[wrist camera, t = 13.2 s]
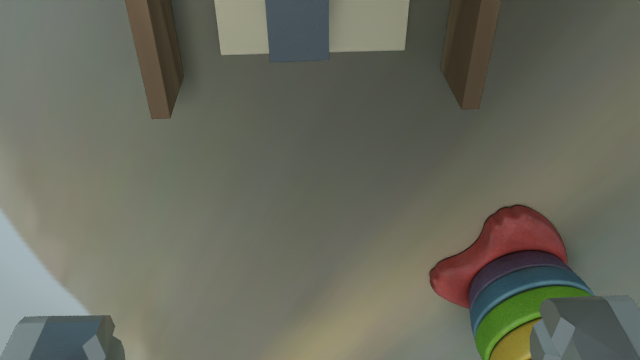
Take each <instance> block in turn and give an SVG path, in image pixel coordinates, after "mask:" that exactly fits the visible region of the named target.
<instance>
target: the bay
mask: <svg viewBox="0 0 640 360" xmlns="http://www.w3.org/2000/svg"><path fill="white" fill-rule="evenodd" d="M501 1H502V0H451V2H450V9H449V15H448V22H447V29H446V36H445V42H444V49H443V56H442V63H441V71H442V73H443V75H444V76H445V78H446V80H447V82H448V84H449V86H450V88H451V90H452V92H453V94H454V96H455V98H456V100H457V102H458V104H459V106H460V108H461V109H479V108H480V103H481V98H482V93H483V88H484V83H485V79H486V74H487V69H488V64H489V59H490V54H491V50H492V45H493V40H494V35H495V30H496V25H497V21H498V16H499V11H500V6H501ZM125 3H126V7H127V12H128V16H129V21H130V25H131V29H132V34H133V38H134V43H135V47H136V52H137V56H138V60H139V65H140V69H141V74H142V78H143V83H144V87H145V91H146V96H147V100H148V105H149V109H150V114H151V118H152V119H168V118H171V115H172V112H173V108H174V105H175V102H176V99H177V95H178V92H179V89H180V86H181V83H182V79H183V76H184V75H183V70H182V64H181V58H180V52H179V47H178V41H177V35H176V29H175V24H174V18H173V12H172V6H171V1H170V0H125Z"/></svg>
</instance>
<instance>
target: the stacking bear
mask: <svg viewBox="0 0 640 360" xmlns="http://www.w3.org/2000/svg"><path fill="white" fill-rule="evenodd" d="M430 278H431V280H430V283H431V286H432V288H433V290H434V291H435V292H436V293H437V294H438V295H439V296H441V297H442V298H444V299H446V300H448V301H450V302H452V303H454V304H457V305H460V306H463V307H466V308H469V309H470V319H471V326H472V331H473V335H474V340H475V343H476V347H477V349H478V352H479V354H480V356H481V358H482V360H532V358H531V353H530V334H531V330H532V327H533V325H534V324H536V323H537V322H538V321H540V320H541V319H542V317H541V315H540V312H539V309H540V306H541V304H542V302H543V301H544V300H545V299H547V298H560V297H579V296H595V295H594V294H593V292H592V291H591V290H590V289H589V287H588V286H587V285H586V284H585V283H584V282H583V280H582V279H581V278H580V277H579V276H577V275H576V274H575V273H574V272H573V271H572V270H571V269H570V268H569V267H568V266H567V255H566V250H565V246H564V244H563V241H562V239H561V237H560V235H559V233H558V232H557V230H556V228H555V227H554V226H553V225H552V224H551V223H550V222H549V221H548V220H547V219H546V218H545V217H544V216H542V215H541V214H539V213H537V212H536V211H534V210H532V209H529V208H527V207H523V206H514V207H510V208H504V209H501V210H499V211H498V212H497V213H496V214H494V215H493V216H491V217H490V218H489V219H488V220H487V221H486V223H485V225H484V228H483V231H482V234H481V236H480V237H479V239H478V240H477V242H476V243H475V244H474V245H473V246H471V247H470V248H469V249H468V250H466V251H465V252H463V253H461V254H459V255H456V256H454V257H451V258H448V259H445V260H443V261H441V262H440V263H439V264H437V266H436V267H435V268H434V269H433V270H431V272H430Z"/></svg>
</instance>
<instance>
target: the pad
mask: <svg viewBox="0 0 640 360" xmlns="http://www.w3.org/2000/svg"><path fill="white" fill-rule="evenodd" d="M409 1H410V0H329V52H354V51H393V50H405V41H406V31H407V21H408V11H409ZM214 2H215V10H216V18H217V26H218V34H219V42H220V50H221V55H238V54H269V46H268V33H267V20H266V8H265V0H214Z"/></svg>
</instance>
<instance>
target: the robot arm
mask: <svg viewBox="0 0 640 360" xmlns="http://www.w3.org/2000/svg"><path fill="white" fill-rule="evenodd" d="M539 312H540V315H541V317H542V319H541V320H540V321H538V322H537V323H536V324H534V325H533V327H532V330H531V334H530V353H531V358H532V360H640V309H639V308H638V306H637V304H636V303H635V301H634V300H633V299H632V298H630V297H629V296H628V295H615V296H579V297H560V298H547V299H545V300H544V301H543V302H542V304H541V306H540V309H539ZM114 328H115V325H114V323H113V321H112V318H111V316H110V315H99V316H38V317H24V318H23V319H22V320H21V321H20V322H19V323H18V324H17V325H16V327H15V329H14V331H13V333H12V335H11V337H10V339H9V341H8V343H7V345H6V347H5V349H4V351H3V353H2V355H1V357H0V360H125V353H124V348H123V345H122V342H121V341H120V340H119V339H117V338H116V337H114V336H112V335H113V332H114Z"/></svg>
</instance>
